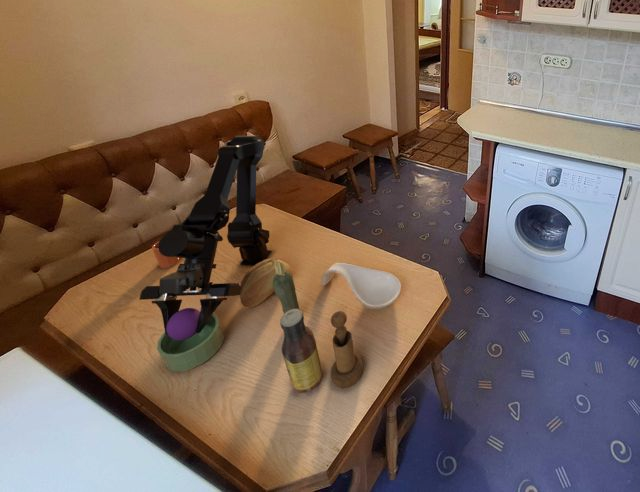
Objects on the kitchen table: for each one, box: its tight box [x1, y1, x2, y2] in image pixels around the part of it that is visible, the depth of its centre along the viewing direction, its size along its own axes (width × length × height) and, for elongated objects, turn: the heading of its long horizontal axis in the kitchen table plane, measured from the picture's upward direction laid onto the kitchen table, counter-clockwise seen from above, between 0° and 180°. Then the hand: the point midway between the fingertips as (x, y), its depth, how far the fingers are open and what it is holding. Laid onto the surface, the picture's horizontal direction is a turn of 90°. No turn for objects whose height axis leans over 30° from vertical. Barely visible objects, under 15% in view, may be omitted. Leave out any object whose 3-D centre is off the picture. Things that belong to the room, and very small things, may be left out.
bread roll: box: [239, 258, 292, 309], centre depth 97 cm, size 10×15×8 cm, turn 164°
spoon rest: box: [320, 262, 402, 310], centre depth 97 cm, size 24×12×7 cm, turn 71°
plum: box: [166, 307, 201, 340], centre depth 79 cm, size 6×6×6 cm
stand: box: [151, 240, 180, 269], centre depth 106 cm, size 5×5×7 cm
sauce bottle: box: [279, 308, 324, 394], centre depth 73 cm, size 7×6×20 cm
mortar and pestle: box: [330, 310, 364, 389], centre depth 75 cm, size 7×6×18 cm
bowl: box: [156, 313, 225, 373], centre depth 81 cm, size 11×11×6 cm
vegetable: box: [271, 260, 300, 315], centre depth 86 cm, size 4×4×20 cm
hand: (183, 333), depth 79 cm, fingers closed on plum, 6 cm apart
